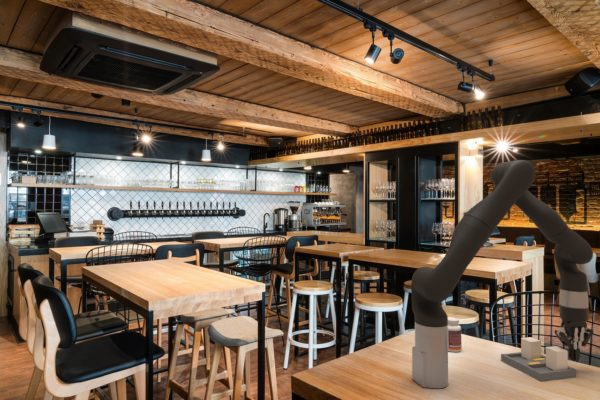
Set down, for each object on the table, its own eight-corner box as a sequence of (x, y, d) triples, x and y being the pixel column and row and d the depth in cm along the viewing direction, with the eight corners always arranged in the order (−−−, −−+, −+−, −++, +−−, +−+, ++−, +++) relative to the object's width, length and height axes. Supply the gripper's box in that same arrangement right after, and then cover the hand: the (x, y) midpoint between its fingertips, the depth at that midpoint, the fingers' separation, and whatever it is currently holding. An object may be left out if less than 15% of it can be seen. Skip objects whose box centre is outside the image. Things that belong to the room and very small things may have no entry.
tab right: (557, 371, 119) (556, 351, 119) (545, 366, 123) (545, 347, 123) (567, 370, 120) (567, 350, 120) (556, 365, 124) (556, 346, 124)
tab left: (531, 360, 127) (530, 342, 128) (521, 356, 131) (521, 338, 131) (541, 359, 128) (541, 341, 129) (531, 355, 132) (531, 337, 132)
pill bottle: (464, 349, 142) (464, 318, 142) (456, 354, 137) (456, 322, 138) (447, 345, 146) (447, 315, 146) (440, 349, 142) (439, 318, 142)
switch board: (540, 381, 116) (540, 373, 116) (501, 360, 131) (500, 353, 131) (576, 376, 119) (576, 369, 119) (533, 357, 134) (533, 350, 134)
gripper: (567, 308, 118) (567, 366, 118) (602, 306, 121) (603, 362, 121) (546, 302, 125) (546, 357, 125) (579, 300, 128) (580, 353, 128)
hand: (574, 359), depth 123 cm, fingers closed
